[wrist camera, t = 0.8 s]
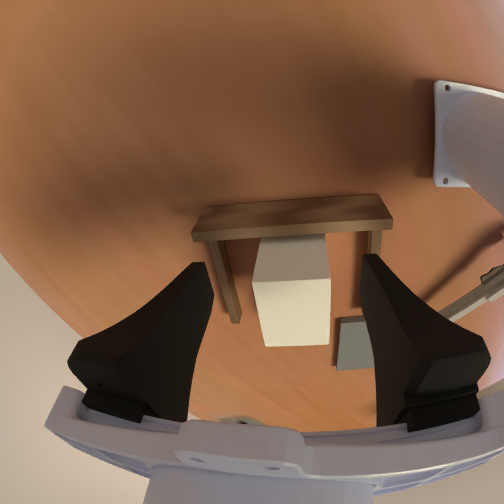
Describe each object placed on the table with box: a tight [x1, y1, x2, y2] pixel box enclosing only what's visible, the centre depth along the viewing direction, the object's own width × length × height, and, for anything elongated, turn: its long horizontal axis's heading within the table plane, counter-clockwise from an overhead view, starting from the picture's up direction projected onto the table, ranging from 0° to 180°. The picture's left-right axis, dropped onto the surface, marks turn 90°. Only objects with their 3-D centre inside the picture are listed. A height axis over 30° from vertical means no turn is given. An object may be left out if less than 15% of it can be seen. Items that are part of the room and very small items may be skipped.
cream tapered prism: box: [252, 233, 331, 346], centre depth 21 cm, size 4×6×8 cm
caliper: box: [438, 265, 504, 322], centre depth 21 cm, size 20×1×6 cm, turn 145°
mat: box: [336, 316, 374, 371], centre depth 30 cm, size 8×9×1 cm
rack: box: [191, 195, 393, 323], centre depth 24 cm, size 14×12×4 cm
